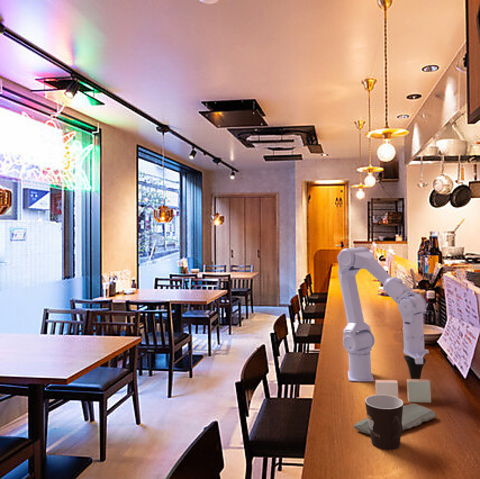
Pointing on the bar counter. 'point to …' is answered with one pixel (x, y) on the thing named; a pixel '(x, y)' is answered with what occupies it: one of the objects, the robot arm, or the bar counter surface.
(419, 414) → the stone slab
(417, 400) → the pink flat block
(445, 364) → the bar counter surface
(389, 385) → the cream tile
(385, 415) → the coffee mug
